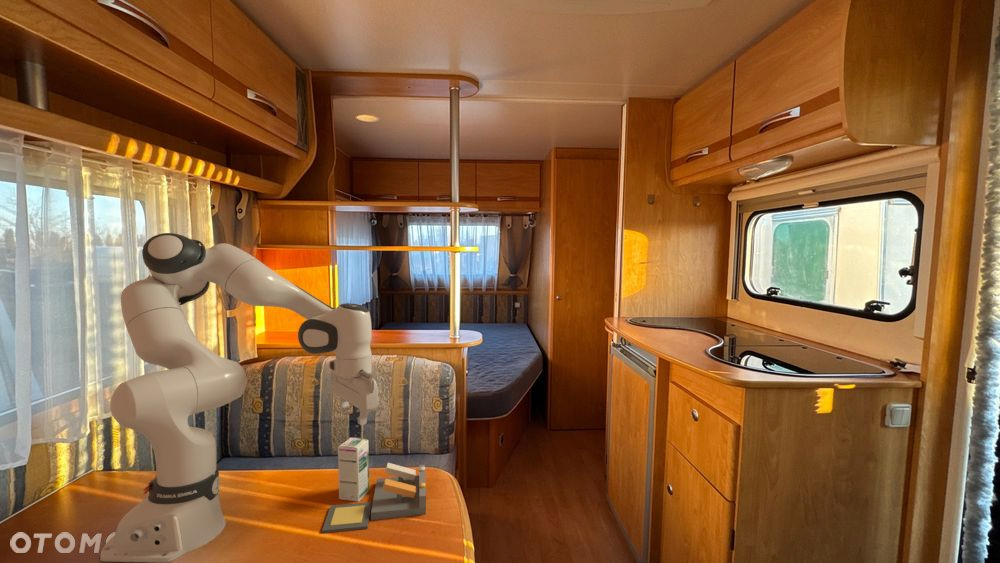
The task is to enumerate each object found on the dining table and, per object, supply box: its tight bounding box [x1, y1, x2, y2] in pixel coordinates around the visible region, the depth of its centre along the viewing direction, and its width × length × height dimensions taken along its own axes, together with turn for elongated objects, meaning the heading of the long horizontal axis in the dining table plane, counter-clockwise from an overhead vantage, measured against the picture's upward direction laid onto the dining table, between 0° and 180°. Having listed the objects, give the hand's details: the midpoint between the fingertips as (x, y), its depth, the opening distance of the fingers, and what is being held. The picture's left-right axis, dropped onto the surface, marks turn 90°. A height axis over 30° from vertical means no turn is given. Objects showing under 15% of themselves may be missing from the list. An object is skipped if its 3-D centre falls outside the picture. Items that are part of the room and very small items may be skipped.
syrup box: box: [337, 437, 370, 503], centre depth 115 cm, size 6×6×14 cm
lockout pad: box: [321, 501, 373, 534], centre depth 105 cm, size 10×10×1 cm
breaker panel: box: [370, 464, 427, 522], centre depth 113 cm, size 13×16×6 cm
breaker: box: [384, 462, 417, 481], centre depth 118 cm, size 8×3×2 cm, turn 101°
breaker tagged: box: [383, 479, 416, 498], centre depth 110 cm, size 8×3×2 cm, turn 101°
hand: (353, 418), depth 114 cm, fingers open, 8 cm apart
